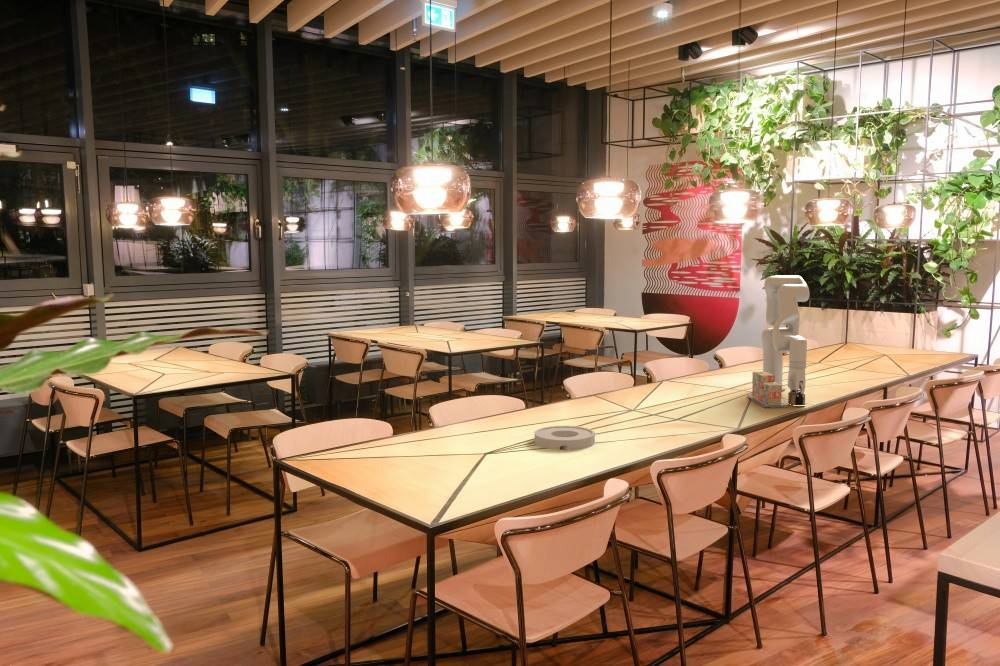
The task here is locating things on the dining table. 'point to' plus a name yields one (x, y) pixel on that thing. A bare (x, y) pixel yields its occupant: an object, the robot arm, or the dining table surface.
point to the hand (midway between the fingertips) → (796, 403)
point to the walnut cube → (794, 398)
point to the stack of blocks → (766, 388)
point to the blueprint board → (764, 403)
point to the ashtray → (564, 437)
